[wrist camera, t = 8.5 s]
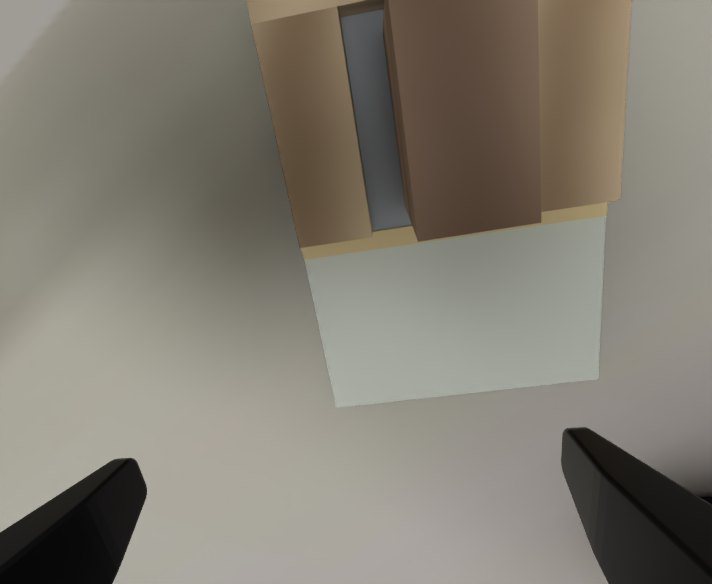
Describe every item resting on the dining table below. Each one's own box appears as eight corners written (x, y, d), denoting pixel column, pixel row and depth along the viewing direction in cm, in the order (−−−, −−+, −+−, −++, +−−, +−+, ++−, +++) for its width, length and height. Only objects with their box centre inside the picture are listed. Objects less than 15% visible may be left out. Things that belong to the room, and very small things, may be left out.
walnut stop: (478, 13, 15) (536, -55, 10) (489, 192, 17) (541, 222, 12) (382, 32, 16) (385, -21, 10) (405, 206, 18) (418, 242, 12)
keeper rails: (611, -73, 14) (637, -96, 13) (600, 194, 17) (620, 200, 16) (255, 2, 15) (243, -10, 14) (305, 239, 19) (299, 248, 17)
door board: (610, -67, 15) (621, -77, 14) (592, 372, 21) (599, 380, 20) (253, 8, 16) (248, 3, 15) (337, 400, 22) (336, 409, 22)
